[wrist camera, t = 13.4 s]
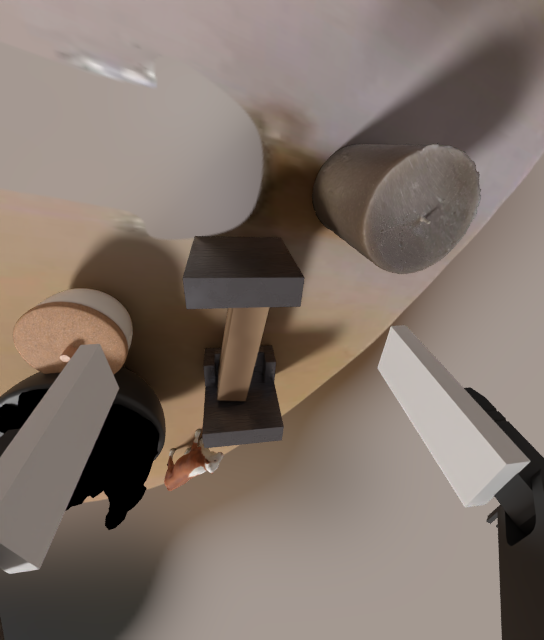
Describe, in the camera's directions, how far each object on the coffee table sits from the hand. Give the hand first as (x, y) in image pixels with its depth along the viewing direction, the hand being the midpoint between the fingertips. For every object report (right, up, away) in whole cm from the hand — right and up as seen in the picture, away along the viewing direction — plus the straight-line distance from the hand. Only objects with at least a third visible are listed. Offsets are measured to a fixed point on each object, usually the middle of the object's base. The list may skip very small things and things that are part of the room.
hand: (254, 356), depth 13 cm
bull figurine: (-15, -22, +41) cm, 49 cm away
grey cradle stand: (-4, +2, +27) cm, 28 cm away
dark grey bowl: (-25, -8, +30) cm, 40 cm away
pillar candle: (+10, +17, +20) cm, 28 cm away
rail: (-4, +1, +26) cm, 26 cm away
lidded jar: (-22, +3, +23) cm, 32 cm away
